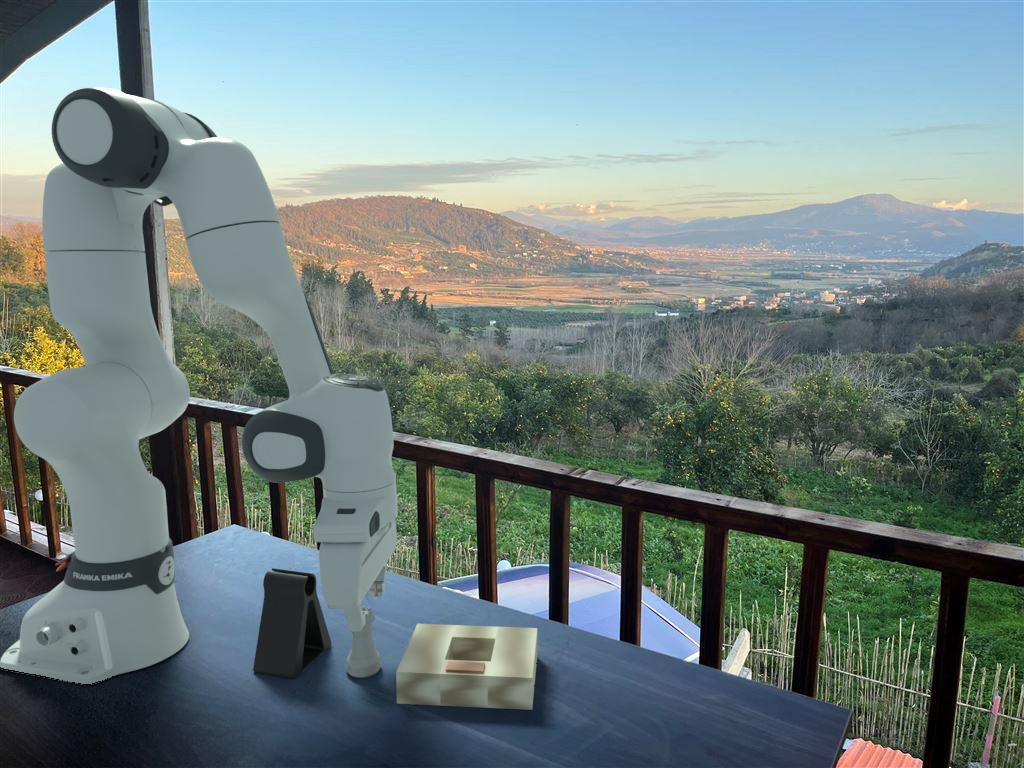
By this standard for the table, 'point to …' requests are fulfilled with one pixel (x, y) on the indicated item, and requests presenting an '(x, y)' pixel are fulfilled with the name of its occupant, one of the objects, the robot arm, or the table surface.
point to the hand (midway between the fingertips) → (367, 610)
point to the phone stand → (290, 625)
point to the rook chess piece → (363, 650)
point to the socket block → (469, 667)
